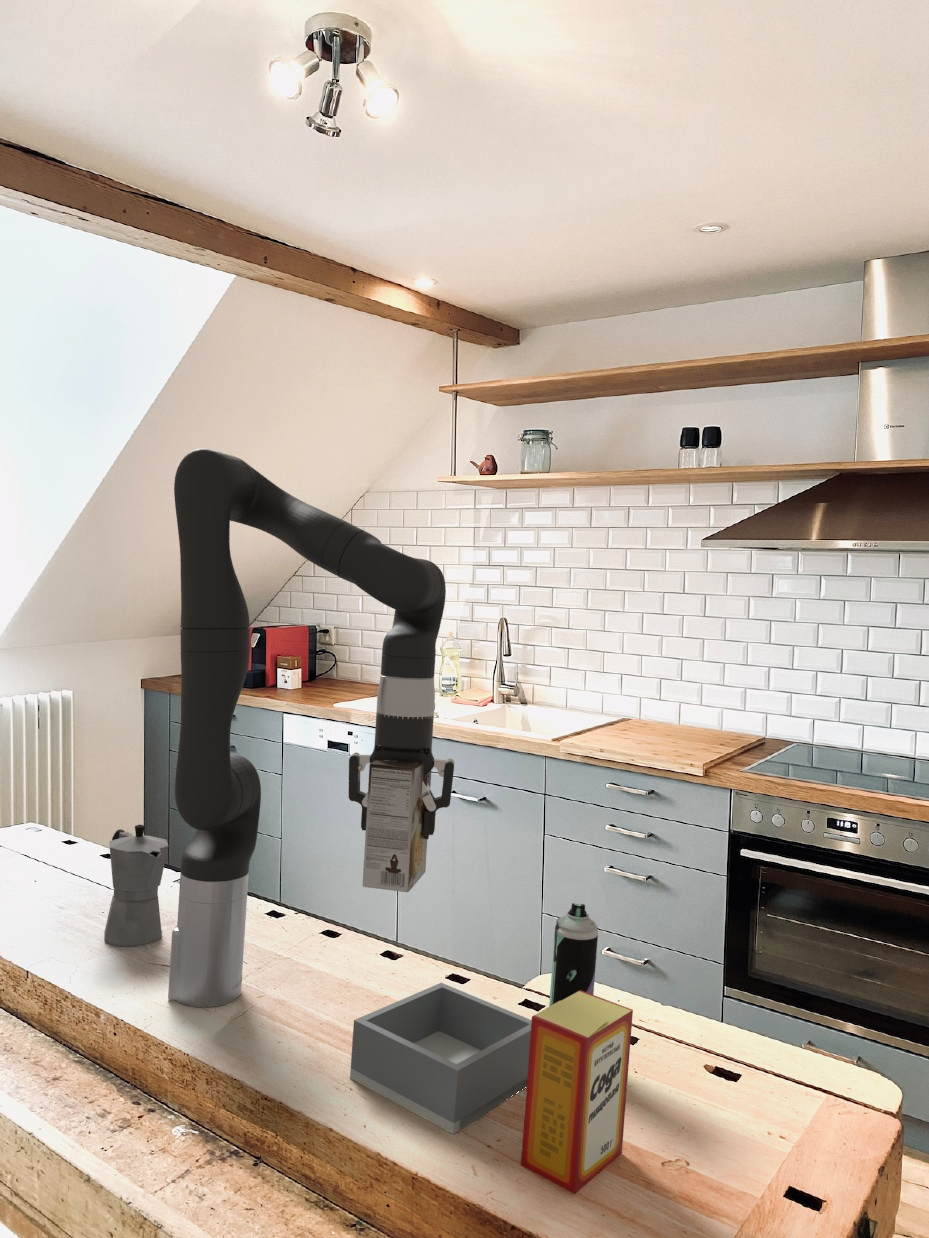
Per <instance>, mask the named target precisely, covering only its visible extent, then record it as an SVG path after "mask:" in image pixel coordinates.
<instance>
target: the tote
mask: <svg viewBox="0 0 929 1238" xmlns="http://www.w3.org/2000/svg"><path fill="white" fill-rule="evenodd" d="M531 1022H532V1019H530V1018H527V1017H524V1016H523V1015H520V1014H517V1013H515V1012H513V1011H510V1010H508V1009H506V1008H503V1007H500V1006H498V1005H496V1004H493V1003H492V1002H489V1001H487V1000H484V999H482V998H479V997H477V996H475V995H473V994H471V993H470V994H469V993H467V992H465V991H462V990H460V989H457V988H455V987H453V986H450V985H448V984H445V983H443V982H438V983H437V984H435V985H433V986H430V987H428V988H425V989H423V990H421V991H419V992H416V993H414V994H412V995H409V996H407V997H404V998H402V999H400V1000H397V1001H396V1002H393V1003H390V1004H388V1005H386V1006H384V1007H381V1008H379V1009H377V1010H375V1011H372V1012H370V1013H367V1014H364V1015H363V1016H361V1017H358V1018H356V1019H354V1020H353V1031H352V1042H351V1044H352V1046H351V1056H350V1057H351V1058H350V1073H349V1074H350V1075H349V1079H351V1080H353V1081H355V1082H356V1083H358V1084H360V1085H362V1086H364V1087H365V1088H367V1089H369V1090H371V1091H373V1092H375V1093H376V1094H378V1095H380V1096H382V1097H384V1098H386V1099H388V1100H389V1101H391V1102H392V1103H395V1104H397V1105H399V1106H401V1107H402V1108H405V1109H406V1110H408V1111H409V1112H412V1113H414V1114H415V1115H417V1116H419V1117H420V1118H422V1119H425V1120H426V1121H429V1122H430V1123H431V1124H434V1125H436V1126H437V1127H439V1128H441V1129H442V1130H445V1131H447V1132H448V1133H449V1134H452V1135H455V1134H456V1133H457V1132H459V1131H460V1130H462V1129H464V1128H465V1127H467V1126H468V1125H470V1124H472V1123H473V1122H475V1121H477V1120H479V1118H481V1117H483V1116H484V1115H486V1114H487V1112H488V1113H490V1111H492V1110H494V1109H495V1108H497V1107H498V1106H497V1105H499V1106H500V1105H502V1104H503V1103H505V1102H506V1101H507V1100H506V1099H508V1098H510V1097H511V1096H512V1095H514V1096H516V1095H517V1094H516V1093H517V1092H518V1091H521V1090H522V1089H524V1088H525V1087H527V1075H528V1062H529V1048H530V1035H531ZM525 1089H526V1088H525ZM525 1089H524V1090H525ZM522 1091H523V1090H522ZM522 1091H521V1092H522ZM515 1094H516V1095H515ZM511 1098H512V1097H511ZM511 1098H510V1099H511ZM508 1100H509V1099H508ZM504 1101H505V1102H504ZM502 1102H503V1103H502ZM501 1103H502V1104H501ZM491 1109H492V1110H491Z"/></svg>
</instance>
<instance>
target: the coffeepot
mask: <svg viewBox="0 0 929 1238" xmlns="http://www.w3.org/2000/svg"><path fill="white" fill-rule="evenodd" d="M145 829H146V825H143V824H136V825H134V830H135V835H133V834H132V833H131V832H129V831H125V830H124V829H121V828H120V829H117V830H116V831H115V832H114V834H113V836H112V838H111V840H110V841H109V843H108V844H109V855H110V867H111V876H112V878H111V879H112V888H113V895H112V898H111V902H110V905H109V911H108V915H107V919H106V924H105V927H104V942H106V943H107V944H109V945H111V946H115V947H120V948H121V947H123V948H135V947H143V946H148V945H151V944H153V943H156V942H158V941H159V940H161V938H162V937H163V931H162V923H161V913H160V912H161V911H160V903H159V893H158V892H159V886H160V885H161V883H162V878H163V873H164V868H165V863H166V858H167V853H168V848H169V843H168V840H167V839H165V838H162V837H161V838H160V837H155V836H152V835H144V832H145Z"/></svg>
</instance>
